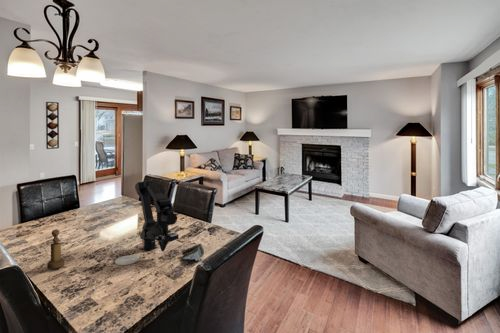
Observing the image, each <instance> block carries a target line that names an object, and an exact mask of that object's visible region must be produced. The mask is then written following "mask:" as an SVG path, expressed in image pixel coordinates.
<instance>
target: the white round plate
mask: <svg viewBox="0 0 500 333" xmlns="http://www.w3.org/2000/svg"><path fill="white" fill-rule="evenodd" d="M139 258H140V257H139V256H138V255H134V254H129V255H123V256H120V257H116V258H115V259H114V264H115V265H117V266H128V265H132V264H135V263H137V262H138V261H139Z"/></svg>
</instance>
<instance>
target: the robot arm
mask: <svg viewBox="0 0 500 333" xmlns="http://www.w3.org/2000/svg"><path fill="white" fill-rule="evenodd" d="M134 189H135V192H136V194H137V196H139V197H140V201H141V202H140V203H141V207H142V213H143V219H144V223H143V224H142V229H141V232H140V233H139V237H140V239H141V240H143V247H141V248H140V249H141V250H144V251H147V252H149V251H152V250H156V249H158V248H160V251H161V252H165V250H166V248H167V246H168V244H169V242H173V241H176V240H179V239H180V238H179V234H178V233H176V232H171V230H169V226H173V225H174V224H176V223H177V221H178V216H177V214H176V213H175V212H174V206H173V203H172V200H170V198H169V196H167V195H166V194H164V193H162V192H161V190H160V189H159V187H157V185H156V182H155V181H154V180H153V179H151V180H150V179H149V180H144V181H138V182H136V183H135V185H134ZM150 195H151V196H150ZM151 198H152V199H153V206H154V208H155V213H156V220H155V219H154V215H153V209H152V202H151ZM156 241H157V242H158V245H159V247H158V246H156Z"/></svg>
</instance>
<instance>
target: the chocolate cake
mask: <svg viewBox="0 0 500 333" xmlns="http://www.w3.org/2000/svg"><path fill="white" fill-rule="evenodd" d="M181 255H182V258H181V259H182V260H187V261H192V260H195V261H200V260H201V258H202V256H204V255H205V249H204V247H203V246H202V243H198V244H196V245H193V246H190V247H188V248H186V249H184V250H182V251H181Z"/></svg>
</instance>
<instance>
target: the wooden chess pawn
mask: <svg viewBox="0 0 500 333" xmlns="http://www.w3.org/2000/svg"><path fill="white" fill-rule="evenodd" d="M59 234H60V230H59V229H57V228H56V229H52V230H51V235H52V237H53V238H52V242H53V243H50V260H49V261H48V262H47V266H46V267H47V269H49V270H53V269H59V268H61V267H63V266H65V259H63V258H62V243H61V242H59V240H60V239H59V238H58V236H59Z"/></svg>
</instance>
